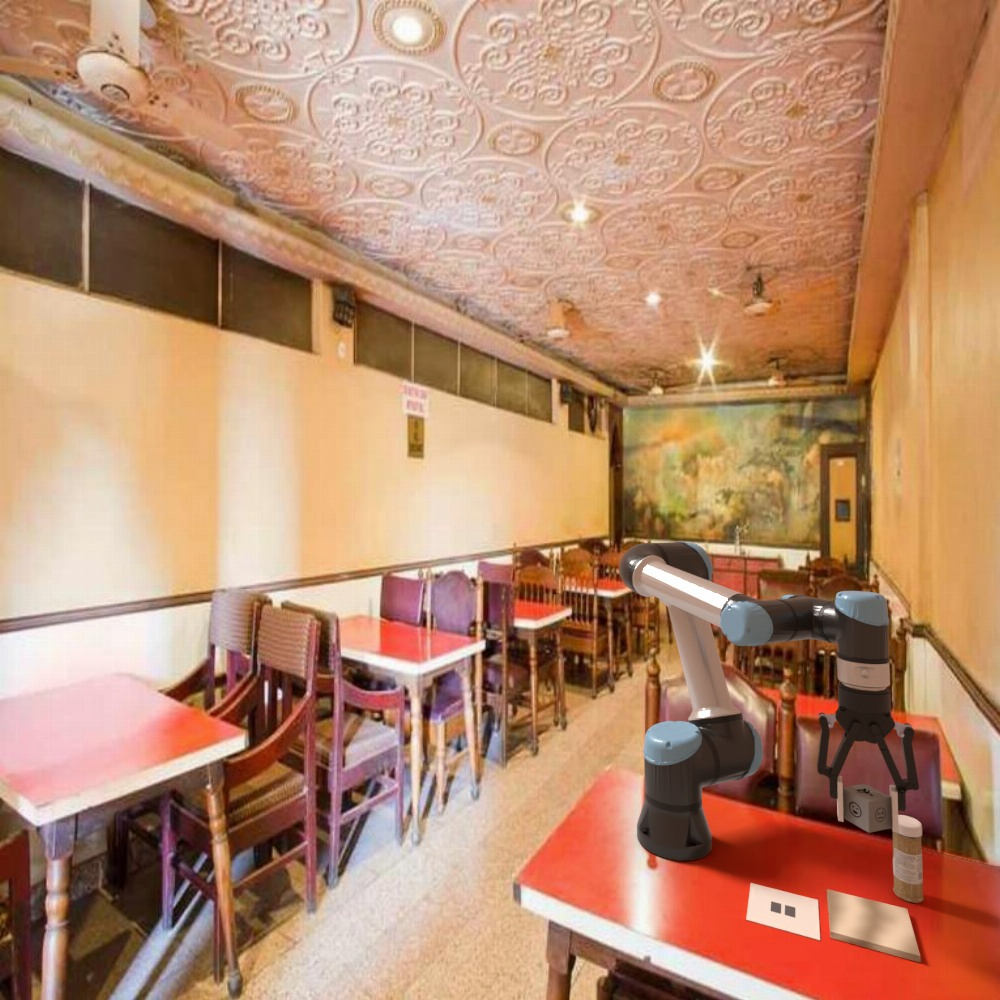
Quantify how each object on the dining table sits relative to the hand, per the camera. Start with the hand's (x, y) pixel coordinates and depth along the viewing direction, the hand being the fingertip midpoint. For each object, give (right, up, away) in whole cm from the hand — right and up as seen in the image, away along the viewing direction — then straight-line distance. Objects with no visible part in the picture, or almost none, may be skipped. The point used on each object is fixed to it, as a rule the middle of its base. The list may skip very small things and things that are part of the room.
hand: (867, 822), depth 98 cm
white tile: (-12, -17, +4) cm, 21 cm away
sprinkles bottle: (+12, -17, +7) cm, 22 cm away
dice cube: (0, 0, 0) cm, 0 cm away
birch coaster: (0, -17, 0) cm, 17 cm away
